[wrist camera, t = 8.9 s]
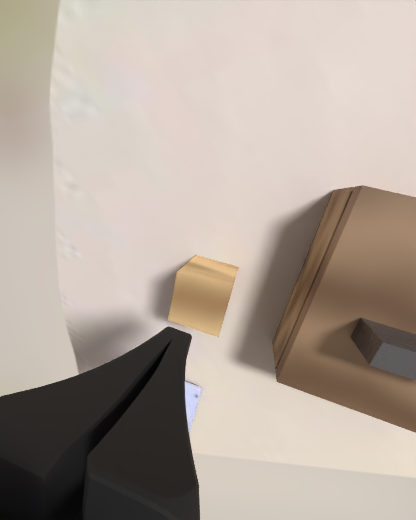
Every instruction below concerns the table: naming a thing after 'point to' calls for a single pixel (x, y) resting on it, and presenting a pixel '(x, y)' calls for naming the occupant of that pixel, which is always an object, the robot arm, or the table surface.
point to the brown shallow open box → (310, 269)
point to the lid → (362, 313)
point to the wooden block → (202, 294)
